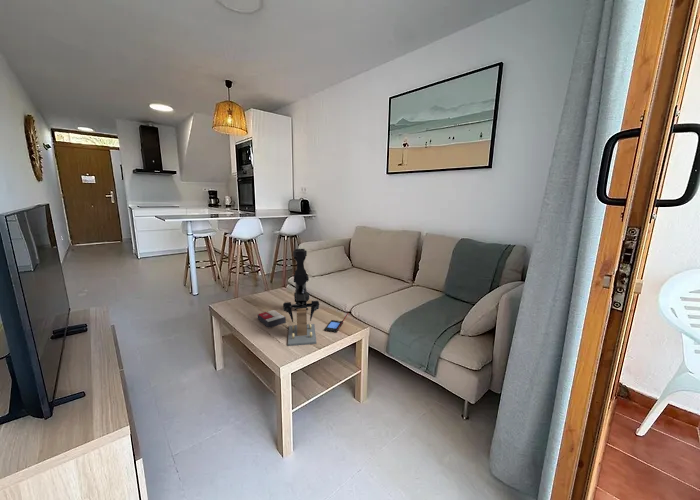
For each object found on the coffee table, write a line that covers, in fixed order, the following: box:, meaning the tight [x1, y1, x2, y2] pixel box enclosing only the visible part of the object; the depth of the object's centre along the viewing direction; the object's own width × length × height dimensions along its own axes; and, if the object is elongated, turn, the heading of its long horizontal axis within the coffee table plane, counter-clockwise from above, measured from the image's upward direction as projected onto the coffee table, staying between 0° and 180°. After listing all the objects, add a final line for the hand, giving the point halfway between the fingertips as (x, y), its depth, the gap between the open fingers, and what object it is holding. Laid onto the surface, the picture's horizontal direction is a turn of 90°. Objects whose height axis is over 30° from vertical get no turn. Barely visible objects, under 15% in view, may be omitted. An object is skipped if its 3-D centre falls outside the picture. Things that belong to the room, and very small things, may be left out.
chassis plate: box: [287, 323, 317, 347], centre depth 153 cm, size 20×14×4 cm
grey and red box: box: [257, 309, 287, 329], centre depth 170 cm, size 11×4×15 cm
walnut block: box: [296, 308, 308, 336], centre depth 152 cm, size 5×5×13 cm
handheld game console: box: [323, 312, 349, 334], centre depth 162 cm, size 12×11×7 cm
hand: (301, 321), depth 151 cm, fingers open, 9 cm apart
